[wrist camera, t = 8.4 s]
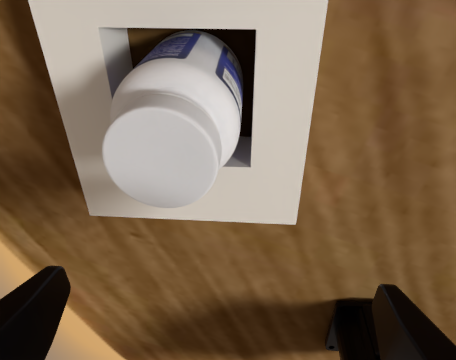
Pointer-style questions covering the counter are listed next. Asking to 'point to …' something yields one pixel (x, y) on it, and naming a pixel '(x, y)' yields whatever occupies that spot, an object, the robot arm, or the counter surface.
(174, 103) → the pill bottle
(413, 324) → the robot arm
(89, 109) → the socket block
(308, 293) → the counter surface
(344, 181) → the counter surface
